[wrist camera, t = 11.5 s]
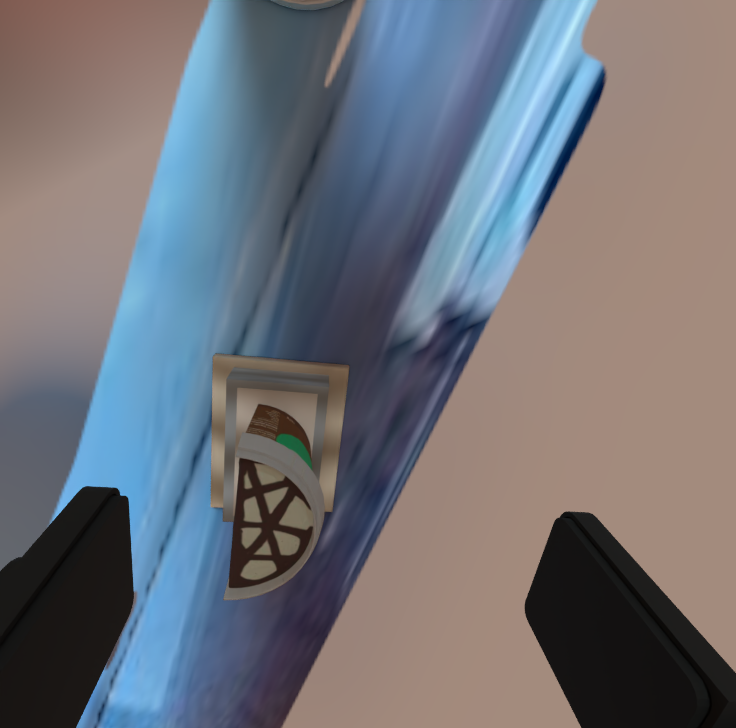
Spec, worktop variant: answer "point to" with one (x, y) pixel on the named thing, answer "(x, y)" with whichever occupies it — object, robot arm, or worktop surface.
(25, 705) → the robot arm
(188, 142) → the worktop surface
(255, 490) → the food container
